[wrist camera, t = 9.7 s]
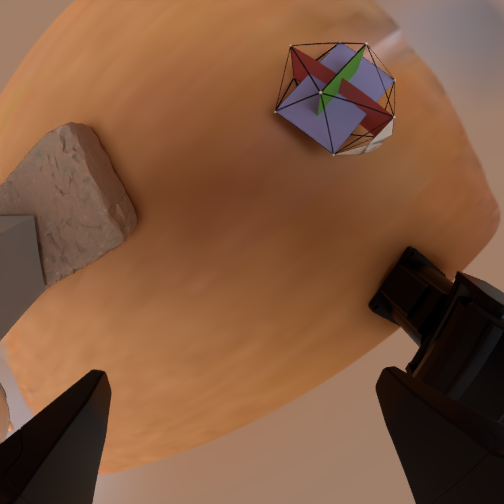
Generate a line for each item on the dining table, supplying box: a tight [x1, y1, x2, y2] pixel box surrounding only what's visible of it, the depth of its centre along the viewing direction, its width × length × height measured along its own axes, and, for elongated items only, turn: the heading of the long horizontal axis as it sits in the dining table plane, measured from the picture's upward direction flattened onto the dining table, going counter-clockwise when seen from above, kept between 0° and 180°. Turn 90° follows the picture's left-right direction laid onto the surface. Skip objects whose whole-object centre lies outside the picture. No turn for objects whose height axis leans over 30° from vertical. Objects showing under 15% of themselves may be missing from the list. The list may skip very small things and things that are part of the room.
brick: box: [0, 122, 137, 289], centre depth 16 cm, size 16×8×5 cm, turn 115°
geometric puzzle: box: [274, 42, 396, 156], centre depth 14 cm, size 7×7×8 cm
